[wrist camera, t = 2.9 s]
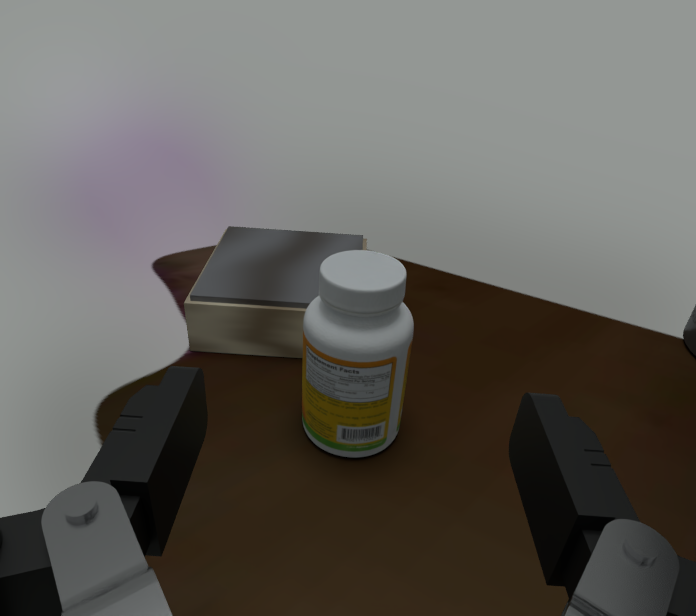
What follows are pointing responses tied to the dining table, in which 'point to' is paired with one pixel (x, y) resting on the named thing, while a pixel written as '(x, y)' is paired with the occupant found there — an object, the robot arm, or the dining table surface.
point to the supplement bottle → (356, 354)
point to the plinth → (259, 290)
